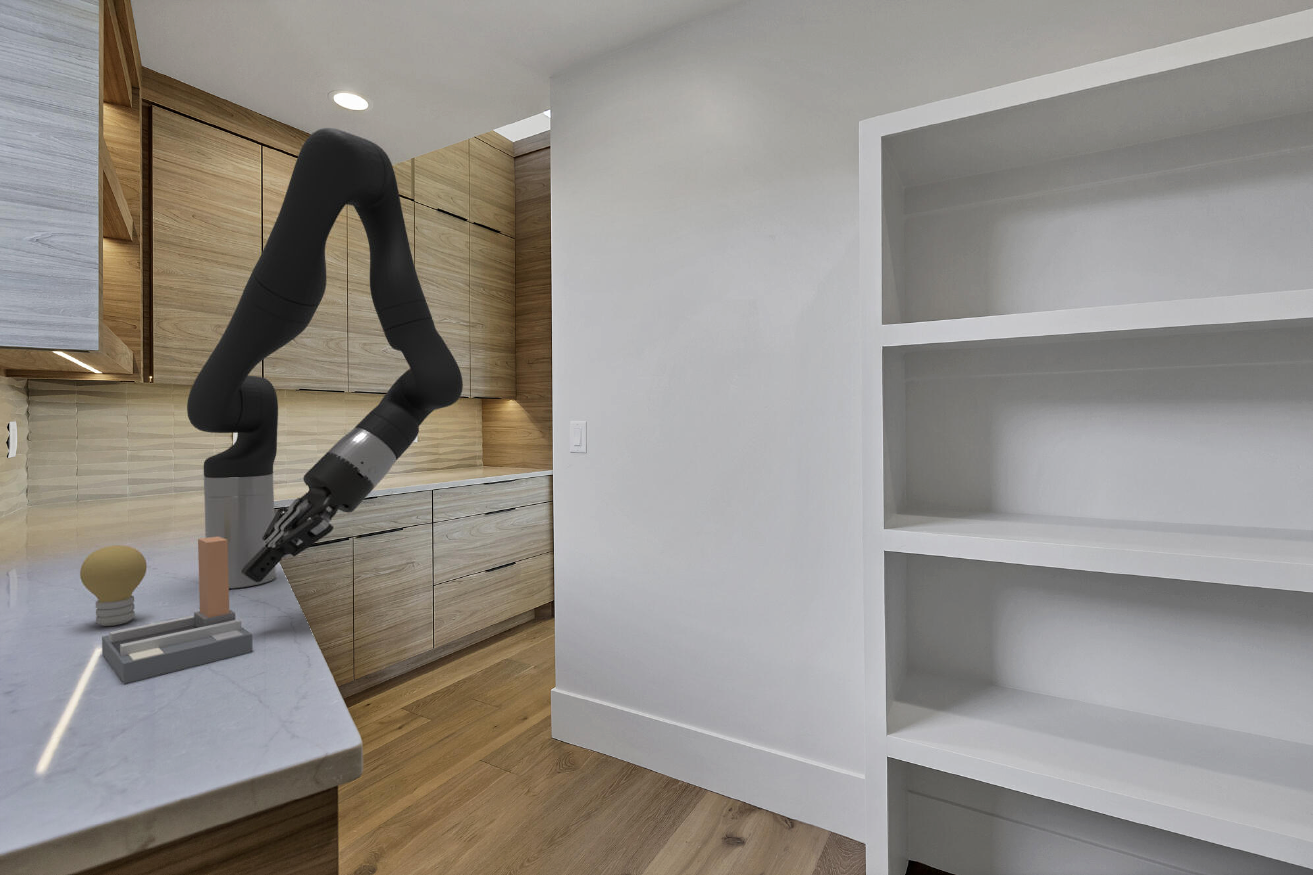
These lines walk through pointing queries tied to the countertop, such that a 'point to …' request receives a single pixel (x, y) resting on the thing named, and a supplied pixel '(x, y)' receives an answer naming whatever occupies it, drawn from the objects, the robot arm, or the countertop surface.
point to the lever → (213, 582)
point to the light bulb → (113, 582)
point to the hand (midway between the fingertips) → (249, 577)
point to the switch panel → (172, 647)
